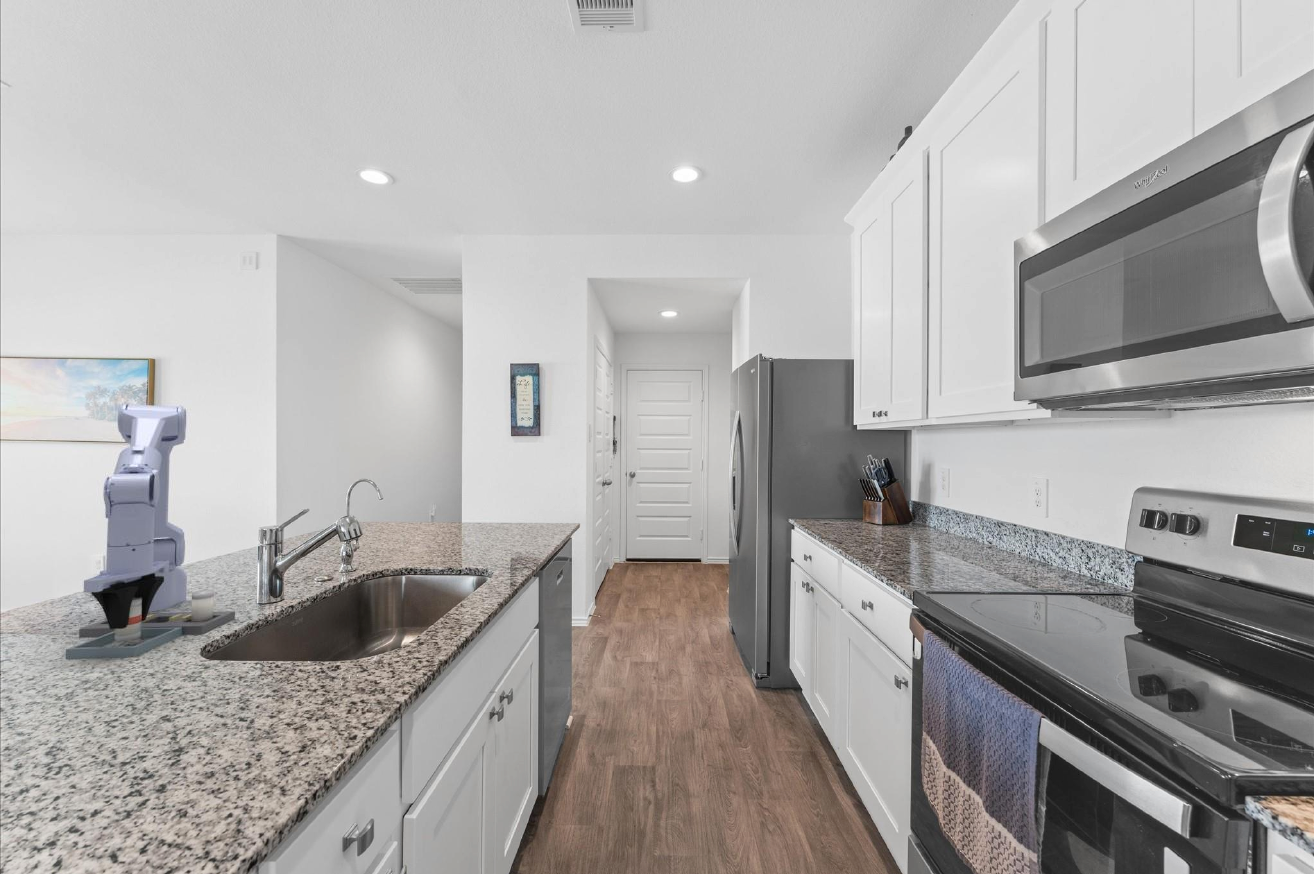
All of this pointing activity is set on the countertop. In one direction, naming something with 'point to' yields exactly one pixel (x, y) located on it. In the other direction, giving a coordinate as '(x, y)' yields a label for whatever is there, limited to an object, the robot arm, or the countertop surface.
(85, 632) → the fuse holder
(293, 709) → the countertop surface
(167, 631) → the tray
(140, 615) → the marked fuse
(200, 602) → the fuse
